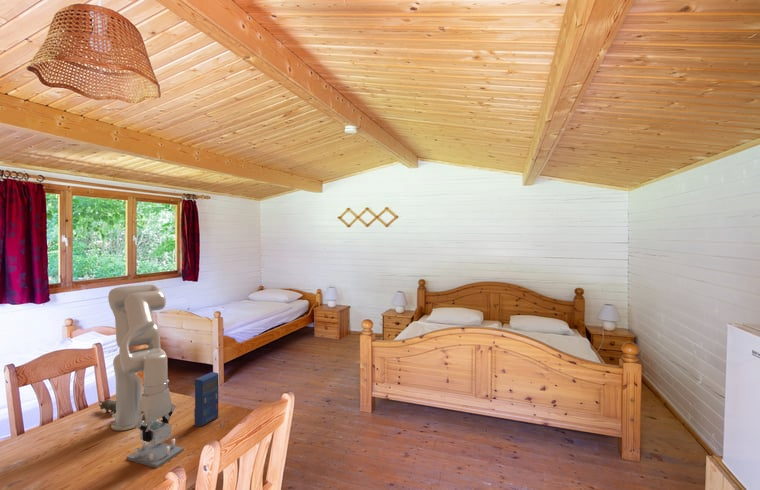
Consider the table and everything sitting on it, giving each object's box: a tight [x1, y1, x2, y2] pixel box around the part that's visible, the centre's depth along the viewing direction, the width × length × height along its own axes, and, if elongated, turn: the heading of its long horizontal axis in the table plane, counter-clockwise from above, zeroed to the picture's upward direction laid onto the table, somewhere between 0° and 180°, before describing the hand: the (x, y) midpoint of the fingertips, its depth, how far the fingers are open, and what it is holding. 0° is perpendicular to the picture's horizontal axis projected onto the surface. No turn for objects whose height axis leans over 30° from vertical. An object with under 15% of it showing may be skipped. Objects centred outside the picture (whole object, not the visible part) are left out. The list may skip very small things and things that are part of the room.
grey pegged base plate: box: [126, 438, 185, 469], centre depth 131 cm, size 15×11×4 cm
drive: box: [139, 419, 172, 445], centre depth 131 cm, size 9×6×5 cm, turn 63°
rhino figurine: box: [99, 398, 116, 416], centre depth 164 cm, size 4×14×6 cm, turn 71°
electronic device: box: [193, 371, 219, 427], centre depth 156 cm, size 10×5×20 cm, turn 159°
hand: (155, 435), depth 131 cm, fingers closed on drive, 6 cm apart
